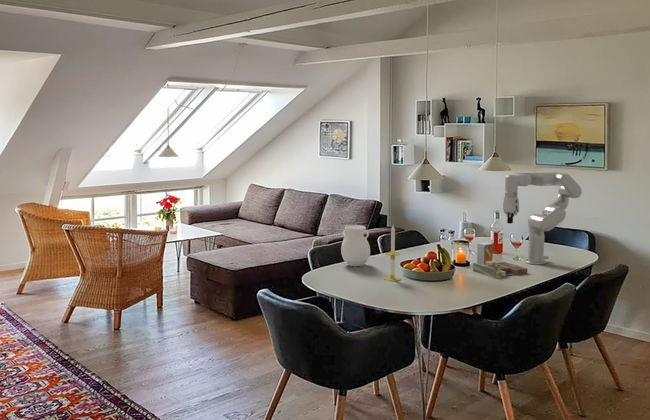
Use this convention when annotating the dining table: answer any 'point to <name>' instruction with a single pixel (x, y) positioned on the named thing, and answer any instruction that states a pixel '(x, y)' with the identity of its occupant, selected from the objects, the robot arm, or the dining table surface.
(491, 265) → the maple cube
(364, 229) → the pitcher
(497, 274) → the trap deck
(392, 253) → the candle
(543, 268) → the dining table surface
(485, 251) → the small box
